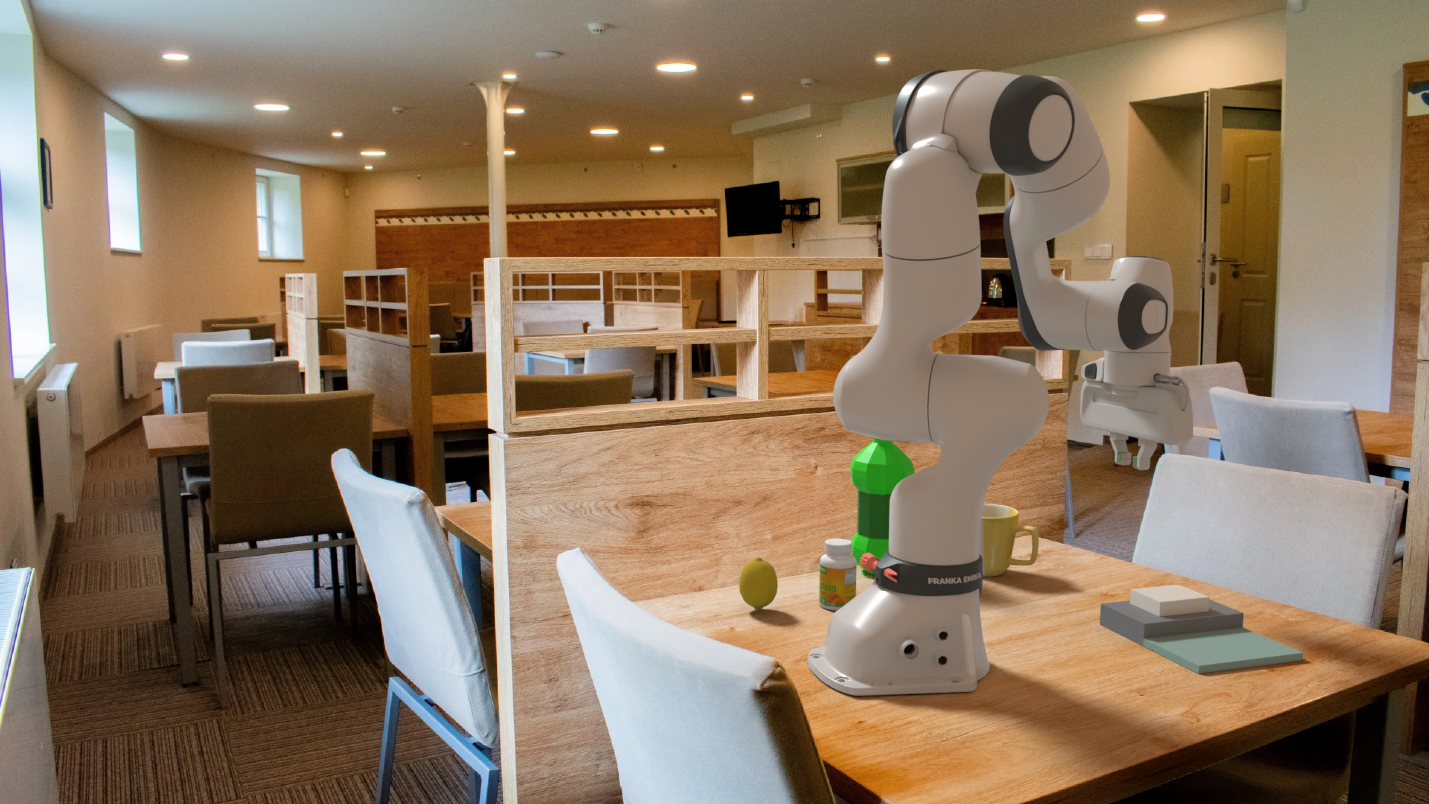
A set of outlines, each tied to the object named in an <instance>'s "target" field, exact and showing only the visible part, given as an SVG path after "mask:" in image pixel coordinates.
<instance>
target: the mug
mask: <svg viewBox="0 0 1429 804" xmlns="http://www.w3.org/2000/svg"><path fill="white" fill-rule="evenodd" d="M1019 517H1020V511H1019V510H1018V509H1016V508H1014V507H1011V506H1007V505H1005V504H1004V505H1003V504H997V503H984V505H983V513H982V521H981V533H980V555H981V556H982V558H983V577H997V576H998V577H999V576H1001V575H1003V574H1004V573H1005V572H1006V571H1007V570H1008V568H1009V567H1010V566H1025V567H1026V566H1032V565H1034V564H1035V563H1036V561H1037V559H1038V553H1039V548H1040V547H1039V543H1040V542H1039V539H1040V538H1039V536H1040V535H1039V531H1038V529H1037V527H1035V526H1029V525H1023V524H1022V525H1021V524H1018V523H1019V519H1020V518H1019ZM1019 532H1026V533H1027V532H1029V533H1030V535H1031V548H1032V549H1031V556H1030V559H1027V560H1026V559H1025V560H1024V559H1016V558H1012V556H1013V550H1014V545H1015V541H1016V540H1015V539H1016V535H1017V533H1019Z"/></svg>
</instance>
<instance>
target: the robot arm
mask: <svg viewBox="0 0 1429 804" xmlns="http://www.w3.org/2000/svg"><path fill="white" fill-rule="evenodd" d="M892 113H893V114H892V122H891V124H892V126H891V129H892V137H893V139H892V143H893V147H894V148H893V150H894V152H895V155H896V158H895V159H893V161H892V162H891V163H890V164H889V167H888V168H887V170H886V172H885V173H886V174H885V176H884V177H885V179H884V186H883V191H882V192H883V193H882V200H881V201H882V202H881V217H880V218H881V219H880V220H881V222H880V224H881V225H880V227H881V229H880V231H881V233H880V234H881V254H882V255H881V257H882V277H883V278H882V279H883V280H882V282H883V285H882V286H883V289H882V290H883V292H882V293H883V295H882V311H881V316H880V320H879V323H878V326H877V328H876V330H875V332H874V334H873V335H872V338H870V340H869V342H868V343H867V344H866V346H865V347H863V349H862V350H861V351H859V352H858V353H857V354H856V355H854V356H853V357H851V358H850V359H849V360H848V361H846V363H845V364H844V365H843V367H842V368H841V369H840V371H839V372H838V375H837V376H836V379H835V382H834V385H833V393H832V395H833V396H832V398H833V399H832V400H833V405H834V410H835V413H836V415H837V418H838V419H839V421H840V423H841V424H842V425H843V427H844V428H845V429H846V430H847V431H848V432H850V433H855V434H857V435H861V436H865V437H869V438H871V439H873V438H876V439H880V440H887V441H893V442H903V443H905V442H906V443H917V444H918V443H920V444H921V443H922V444H934V445H938V446H939V447H940V452H939V453H940V454H939V459H938V462H937V463H935V464H934V465H931V466H928V467H927V468H923V469H921V470H918V471H916V472H914V474H912V475H910V476H908V477H906V478H904V479H903V480H901V481H900V482H899V483H898V484H897V485H896V487H895V488H894V490H893V491H892V494H891V497H890V512H889V549H888V550H887V551H886V553H885V555H884V556H883V557H882V558H881V559H880V560H879V559H878V558H877V557H875V556H874V555H872V554H870V553H865V554H863V555H862V556H864V557H861V558H860V559H861V560H860V562H861V564H860V565H862V567H863V568H865V569H867V570H868V571H870V572H874V571H875V575H874V576H875V577H874V580H873V582H871V584H870V585H868V586H866V587H865V588H864V589H863V590H861V592H860V593H858V594H856V597H854V598H853V599H852V600H851V601H849V602H848V603H847V604H845V605H844V606H843V607H842V608H840V609H839V610H837V611H835V612H833V614H832V616H831V619H830V621H829V624H828V628H827V633H826V639H825V645H823V646H819V647H814V648H811V649H809V652H808V654H807V655H808V656H807V665H808V667H809V669H810V670H811V672H812V673H813V674H814V675H815V676H816V677H817V678H818V679H819V680H821V681H822V682H823V683H824V684H826V685H827V686H829V687H830V688H832V689H835V690H836V691H839V692H841V693H844V694H847V695H849V696H850V695H851V696H884V695H907V694H908V695H909V694H913V695H915V694H939V693H940V694H941V693H962V692H963V693H964V692H973V691H975V690H976V689H977V687H978V682H979V681H980V679H982V678H984V677H985V676H986V675H987V674H989V673H990V669H991V665H990V663H989V659H988V655H987V652H986V646H985V642H984V636H983V628H982V626H983V625H982V618H981V605H980V597H981V596H982V591H983V590H982V589H983V580H984V576H983V558H982V556H981V555H980V533H981V521H982V513H983V505H984V504H985V501H986V500H985V499H986V495H987V492H988V488H989V486H990V484H991V481H992V480H993V478H994V477H995V476H994V475H996V473H997V471H998V470H999V468H1000V467H1001V466H1002V465H1003V463H1004V462H1005V461H1006V460H1007V459H1008V458H1009V457H1010V456H1011V455H1012V454H1014V453H1015V452H1016V451H1017V450H1019V449H1020V448H1021V447H1023V446H1025V445H1026V444H1028V443H1029V442H1030V441H1032V440H1033V439H1034V438H1035V437H1036V436H1037V435H1039V434H1038V433H1039V432H1040V431H1041V430H1042V428H1043V427H1044V425H1045V422H1046V421H1047V420H1046V419H1047V417H1048V413H1049V409H1050V396H1049V391H1048V387H1047V384H1046V382H1045V380H1044V378H1043V376H1042V375H1041V373H1040V372H1039V370H1038V369H1037V368H1036V367H1035V366H1034V365H1033V364H1031V363H1027V362H1024V361H1020V360H1018V359H1017V360H1016V359H1012V358H1007V357H1002V356H997V355H984V354H983V355H982V354H981V355H980V354H978V355H977V354H957V353H955V354H954V353H953V354H949V353H948V354H946V353H940V352H936V351H933V347H932V342H933V341H935V340H937V339H938V338H941V337H943V336H945V335H948V334H950V333H952V332H954V331H956V330H958V329H960V328H961V327H963V326H964V325H966V324H967V323H969V322H971V320H972V319H973V318H974V317H975V315H976V314H977V313H978V311H979V309H980V307H981V303H982V299H983V298H982V297H983V293H982V288H983V287H982V257H981V255H982V252H981V251H982V250H981V230H980V229H981V228H980V218H979V216H980V215H979V209H978V201H977V196H976V194H977V190H978V186H979V183H980V180H981V178H982V176H983V174H1008V176H1009V178H1010V182H1011V183H1012V186H1013V189H1014V195H1013V196H1012V197H1010V199H1009V201H1007V204H1006V205H1005V206H1006V207H1005V209H1004V213H1003V232H1004V233H1003V234H1004V239H1005V245H1006V251H1007V256H1008V261H1009V265H1010V270H1011V274H1012V276H1011V277H1012V280H1013V284H1014V290H1015V294H1016V300H1017V301H1016V302H1017V322H1018V328H1019V331H1020V333H1021V334H1022V335H1023V337H1024V338H1025V340H1026V341H1027V342H1028V343H1029V344H1030V345H1031V346H1032V347H1033V348H1034V349H1036V350H1037V351H1041V352H1046V351H1047V352H1049V351H1064V350H1069V351H1070V350H1073V351H1091V352H1101V351H1103V353H1104V354H1103V357H1100V358H1098V359H1097V360H1096V359H1095V360H1093V361H1090V362H1088V363H1085V364H1084V365H1082V366H1081V373H1080V374H1081V378H1082V379H1083V380H1085V381H1084V382H1083V383H1082V385H1081V390H1080V401H1079V404H1080V405H1079V406H1080V407H1079V408H1080V409H1079V410H1080V411H1079V414H1080V420H1081V423H1082V424H1083V426H1084V427H1086V428H1090V429H1095V430H1099V431H1105V432H1108V433H1109V440H1110V443H1111V447H1112V450H1113V451H1114V463H1115V464H1116V465H1121V466H1130V465H1131V464H1132V467H1133V468H1134V469H1136V470H1139V471H1149V469H1150V468H1151V467H1150V466H1151V458H1152V457H1153V454H1155V453H1154V452H1155V451H1156V450H1157V448H1158V443H1160V444H1162V445H1163V444H1164V445H1169V446H1180V445H1188V444H1189V443H1190V442H1191V440H1192V439H1193V438H1194V436H1193V435H1194V415H1193V414H1194V413H1193V403H1192V397H1191V396H1190V395H1191V394H1190V387H1189V386H1188V385H1187V383H1186V382H1185V381H1184V379H1183V378H1182V377H1180V376H1176V375H1175V376H1174V375H1173V376H1171V362H1172V361H1171V360H1172V346H1171V343H1170V330H1171V327H1172V324H1173V321H1174V286H1173V274H1172V269H1171V265H1170V264H1169V262H1167V261H1165V260H1164V259H1162V258H1159V257H1155V256H1146V255H1127V256H1122V257H1118V258H1116V259H1115V260H1114V261H1113V264H1112V268H1111V272H1110V277H1108V278H1107V279H1106V280H1104V279H1103V280H1068V279H1064V278H1060V277H1058V276H1056V275H1055V274H1053V273H1052V269H1051V263H1050V256H1049V250H1048V245H1047V241H1049V240H1052V239H1054V238H1057V237H1059V236H1062V235H1065V234H1068V233H1070V232H1073V231H1075V230H1077V229H1078V228H1080V227H1081V226H1083V225H1084V224H1086V223H1087V222H1089V221H1090V219H1091V218H1093V217H1094V216H1095V215H1096V214H1097V213H1098V211H1099V210H1100V209H1101V207H1102V206H1103V204H1104V203H1105V201H1106V199H1107V196H1108V194H1109V191H1110V186H1111V176H1110V175H1111V174H1110V168H1109V163H1108V160H1107V157H1106V154H1105V151H1104V148H1103V145H1102V142H1101V139H1100V137H1099V134H1098V132H1097V129H1096V127H1095V125H1094V123H1093V120H1092V118H1091V116H1090V114H1089V113H1088V110H1087V109H1086V107H1085V105H1084V103H1083V101H1082V99H1081V98H1080V97H1079V95H1078V94H1077V92H1076V91H1075V89H1074V87H1073V86H1072V85H1071V84H1070V83H1069V82H1067V81H1066V80H1065V79H1062V78H1060V77H1058V76H1053V75H1042V76H1039V75H1036V74H1024V75H1020V74H1015V73H1009V72H1001V71H994V70H993V71H992V70H990V69H984V68H983V69H980V68H979V69H977V68H974V69H973V68H971V69H959V70H945V69H938V70H931V71H928V72H923V73H921V74H919V75H916V76H914V77H913V78H910V80H908V81H907V82H905V84H904V85H903V87H902V88H901V90H900V92H899V94H898V96H897V99H896V101H895V105H894V107H893V112H892ZM1129 437H1132V438H1136V439H1137V440H1138V441H1137V442H1138V444H1137V445H1138V447H1140V448H1139V450H1138V453H1137V454H1136V455H1137V456H1136V455H1134V456H1132V452H1130V451H1129V449H1128V446H1127V440H1129Z"/></svg>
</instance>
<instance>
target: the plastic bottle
mask: <svg viewBox="0 0 1429 804" xmlns="http://www.w3.org/2000/svg"><path fill="white" fill-rule="evenodd" d="M849 468H850V469H849V471H850V479H851V482H852V485H853V486H854V487H855V489H857V508H856V509H857V514H856V515H857V516H856V517H857V518H856V519H857V520H856V527H857V528H856V532H855V534H854V535H853V538H852V539H851V542H852V552H851V554H852V556H854V557H855V559H856V564H857V565H858V566H859V567H860V568H861V569H862V570H864V573H867V574H870V575H874V576H875V571H874V572H870V571H868V570H867V569H865V568H863V567H862V565H860V564H861V562H860V560H861V559H860V558H861V557H864V556H862V555H863V554H865V553H870V554H872V555H874V556H875V557H877V558H878V559H879V560H880V559H881V558H882V557H883V556H884V555H885V553H886V551H887V550H888V549H889V512H890V497H891V494H892V491H893V490H894V488H895V487H896V485H897V484H898V483H899V482H900V481H901V480H903V479H904V478H906V477H908V476H910V475H912V474H914V473H916V472H915V467H914V464H913V461H912V459H911V458H909V456H907V455H906V454H905V452H903V451H902V449H900V447H898V446H897V445H896V444H895V443H894V441H887V440H880V439H876V438H872V441H871V442H870V443H869V444H867V446H865V447H864V448H862V449H861V450H860V451H859V452H858V453H857V454H856V455H854V457H852V461H851V463H850V465H849Z"/></svg>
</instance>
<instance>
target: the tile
mask: <svg viewBox="0 0 1429 804" xmlns="http://www.w3.org/2000/svg"><path fill="white" fill-rule="evenodd" d="M1129 591H1130V592H1129V593H1130V594H1129V601H1130V604H1133V605H1135V606H1137V607H1139V608H1142V609H1144V610H1146V611H1148V612H1150V613H1153V614H1155V615H1157V616H1159V617H1160V616H1169V615H1178V614H1188V613H1197V612H1206V611H1209V599H1210V596H1208V595H1206V594H1202V593H1200V592H1198V591H1195V590H1193V589H1190V588H1188V587H1185V586H1183V585H1180V584H1171V585H1162V586H1161V585H1159V586H1150V587H1149V586H1148V587H1141V588H1130V589H1129Z"/></svg>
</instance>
